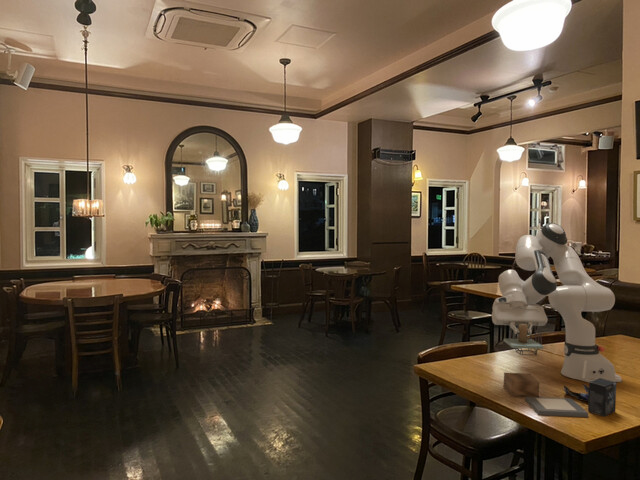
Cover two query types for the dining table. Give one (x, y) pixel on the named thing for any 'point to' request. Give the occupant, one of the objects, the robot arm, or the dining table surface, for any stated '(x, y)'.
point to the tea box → (521, 385)
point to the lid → (523, 340)
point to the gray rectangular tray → (556, 406)
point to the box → (602, 397)
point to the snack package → (578, 395)
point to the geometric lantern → (530, 337)
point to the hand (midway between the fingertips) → (523, 333)
